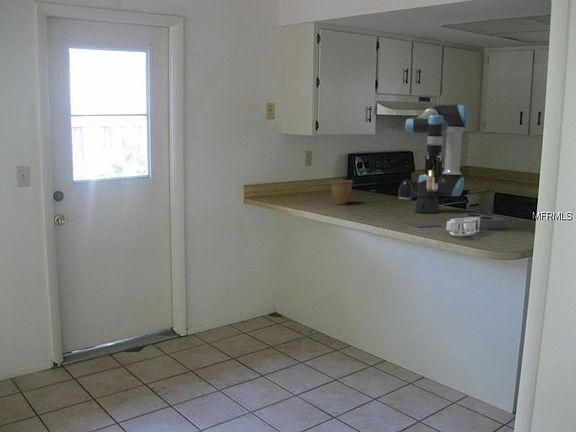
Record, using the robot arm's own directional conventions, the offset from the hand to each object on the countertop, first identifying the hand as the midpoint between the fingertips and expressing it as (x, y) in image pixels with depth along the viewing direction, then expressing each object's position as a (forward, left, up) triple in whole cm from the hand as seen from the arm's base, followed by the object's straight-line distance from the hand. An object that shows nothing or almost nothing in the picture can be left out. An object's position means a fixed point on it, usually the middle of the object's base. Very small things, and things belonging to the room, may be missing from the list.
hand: (432, 188), depth 319 cm
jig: (+8, +26, -20) cm, 33 cm away
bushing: (0, 0, -1) cm, 1 cm away
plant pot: (-87, -12, -20) cm, 90 cm away
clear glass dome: (-92, +40, -20) cm, 102 cm away
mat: (-2, -3, -20) cm, 20 cm away
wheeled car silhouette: (+25, +4, -20) cm, 32 cm away
